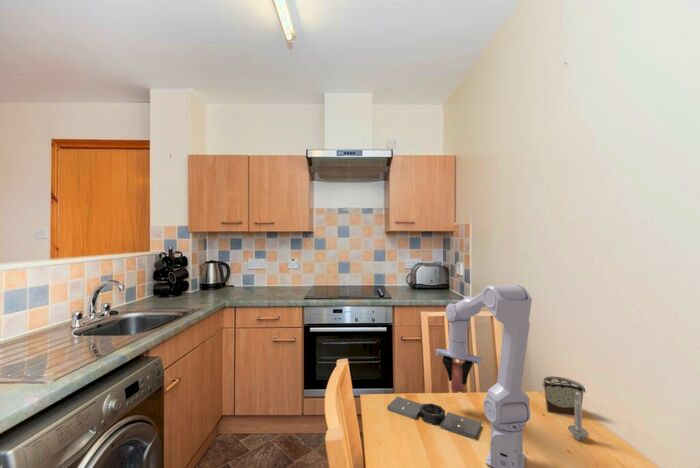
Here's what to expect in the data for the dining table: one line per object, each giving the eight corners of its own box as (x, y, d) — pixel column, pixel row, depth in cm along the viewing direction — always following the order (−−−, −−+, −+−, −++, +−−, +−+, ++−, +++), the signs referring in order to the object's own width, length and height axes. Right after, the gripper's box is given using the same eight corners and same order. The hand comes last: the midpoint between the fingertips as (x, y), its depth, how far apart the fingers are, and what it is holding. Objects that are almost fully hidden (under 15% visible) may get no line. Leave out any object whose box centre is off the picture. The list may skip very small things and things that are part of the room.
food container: (577, 408, 105) (577, 378, 106) (586, 417, 100) (585, 386, 100) (536, 402, 109) (536, 373, 109) (542, 411, 103) (542, 380, 103)
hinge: (475, 439, 87) (475, 430, 87) (387, 409, 102) (387, 401, 102) (481, 426, 94) (481, 417, 94) (397, 399, 109) (397, 392, 109)
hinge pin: (462, 393, 100) (462, 367, 100) (449, 389, 102) (450, 365, 102) (465, 388, 103) (465, 364, 104) (453, 385, 105) (453, 361, 106)
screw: (569, 440, 88) (566, 431, 92) (590, 445, 85) (586, 436, 90) (569, 393, 88) (566, 386, 92) (590, 397, 86) (586, 390, 90)
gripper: (483, 341, 103) (483, 383, 102) (440, 333, 111) (439, 372, 110) (479, 346, 97) (479, 391, 96) (433, 338, 105) (433, 379, 104)
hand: (457, 381), depth 103 cm, fingers closed on hinge pin, 4 cm apart
